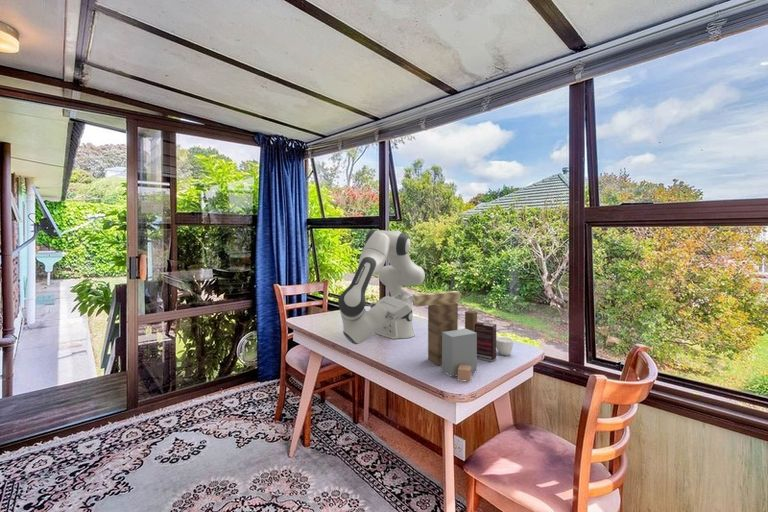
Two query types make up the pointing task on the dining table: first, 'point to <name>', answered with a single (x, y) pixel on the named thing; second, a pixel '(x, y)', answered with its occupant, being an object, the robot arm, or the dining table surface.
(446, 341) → the grey step block
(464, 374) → the clay cube
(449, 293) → the oak bar
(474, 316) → the wooden block
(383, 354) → the dining table surface
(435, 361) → the walnut stand
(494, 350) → the supplement box
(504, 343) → the cup
